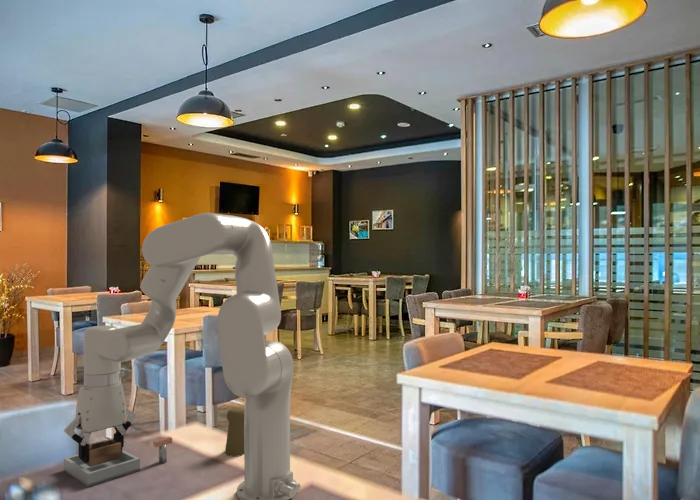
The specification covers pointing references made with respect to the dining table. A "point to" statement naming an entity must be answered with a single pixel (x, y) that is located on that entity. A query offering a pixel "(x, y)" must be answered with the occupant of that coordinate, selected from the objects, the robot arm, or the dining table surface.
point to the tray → (101, 469)
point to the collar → (103, 452)
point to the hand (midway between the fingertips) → (101, 455)
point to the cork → (235, 431)
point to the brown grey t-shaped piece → (162, 448)
